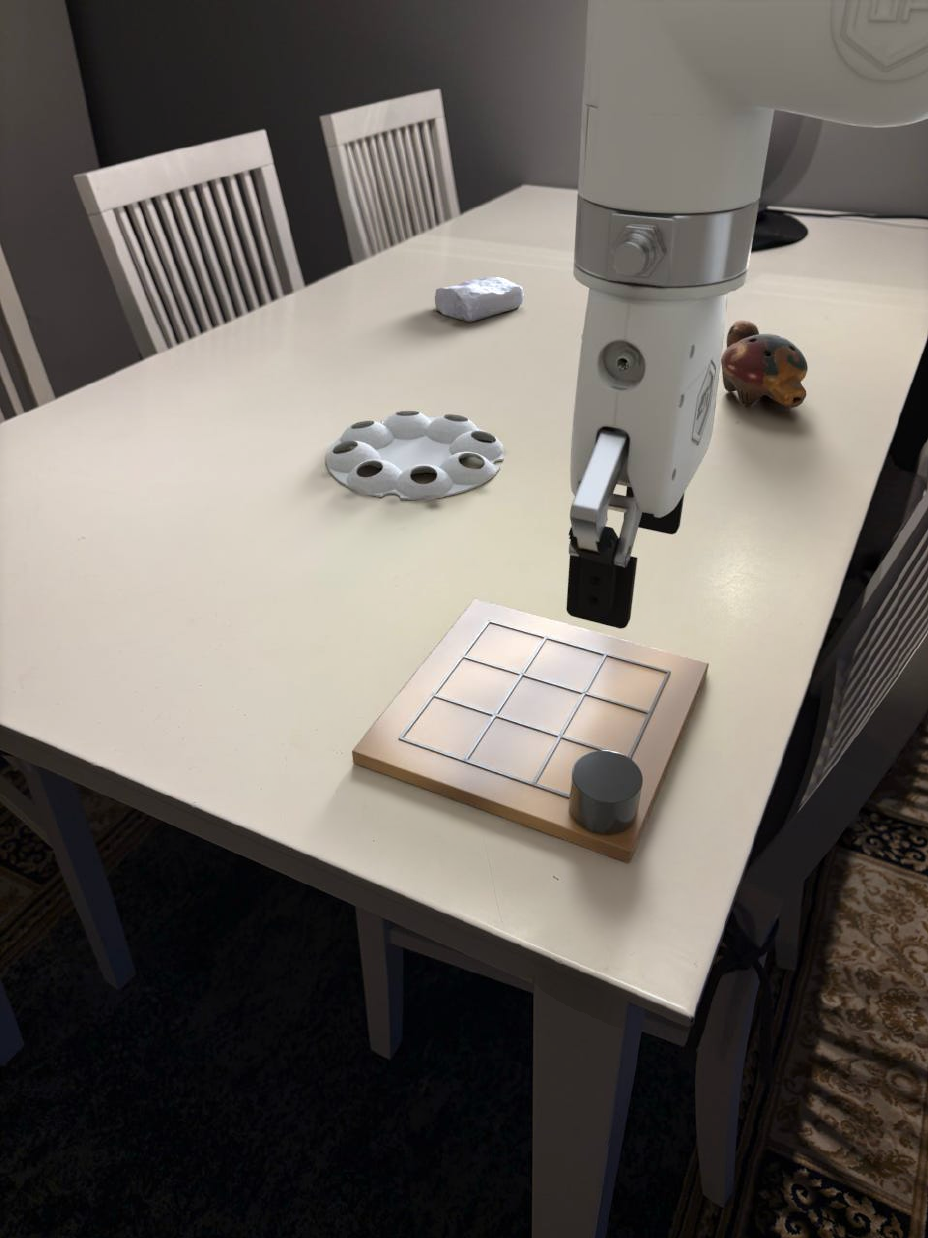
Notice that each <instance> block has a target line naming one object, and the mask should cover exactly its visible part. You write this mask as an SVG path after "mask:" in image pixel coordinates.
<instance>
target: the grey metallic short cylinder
mask: <svg viewBox="0 0 928 1238" xmlns="http://www.w3.org/2000/svg"><path fill="white" fill-rule="evenodd" d="M642 783H643V777H642V773H641V771H640V769H639V767H638V766H637V764H636V763H635V762H634V761H632V760H631V759H630V758H628V757H627V756H625V755H623V754H620V753H617V752H613V751H606V750H600V751H593V752H590V753H587V754H585V755H583V756H581V757H580V758H579V759H578V760H577V761H576V762H575V764H574V766H573V768H572V774H571V784H570V795H569V810H570V813H571V815H572V817H573V818H574V820H575V821H576V822H577V823H578V824H579V825H580V826H582V827H583V828H585V829H587V830H589V831H591V832H595V833H599V834H615V833H619V832H622V831H624V830H626V829H627V828H629V827H630V826H631V825H632V824H633V823H634V822H635V820H636V817H637V814H638V808H639V802H640V796H641V790H642Z"/></svg>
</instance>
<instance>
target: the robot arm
mask: <svg viewBox="0 0 928 1238" xmlns="http://www.w3.org/2000/svg"><path fill="white" fill-rule="evenodd" d="M586 12H587V13H586V31H585V50H584V65H583V66H584V68H583V83H582V84H583V86H582V90H583V91H582V105H581V107H582V109H581V125H580V126H581V127H580V147H579V166H578V168H579V170H578V187H577V197H576V215H575V216H576V218H575V232H574V233H575V234H574V237H575V238H574V252H573V265H572V266H573V269H572V274H573V277H574V279H575V280H576V281H577V282H578V283H580V285H582V286H585V287H586V288H587V289H588V294H587V295H588V296H587V302H586V308H585V316H584V322H583V330H582V334H581V344H580V352H579V361H578V366H577V367H578V369H577V376H576V377H577V378H576V387H575V397H574V406H573V415H572V416H573V418H572V428H571V429H572V430H571V442H570V443H571V444H570V465H569V466H570V469H569V471H570V490H571V492H572V494H573V496H574V498H573V500H572V503H571V505H570V510H569V519H570V520H569V521H570V524H571V527H570V528H569V531H568V536H569V537H568V539H569V544H568V555H569V560H568V561H569V562H568V577H567V591H566V592H567V593H566V609H565V610H566V613H567V614H568V615H569V616H570V617H573V618H576V619H581V620H585V621H588V622H592V623H597V624H599V625H605V626H608V627H612V628H616V629H621V630H623V629H626V627H627V626H628V624H629V623H630V621H631V616H632V608H633V599H634V590H635V582H636V575H637V567H638V565H637V564H638V557H637V556H632V552H633V549H634V545H635V540H636V538H637V537H636V536H637V533H638V529H644V530H648V531H654V532H657V533H663V534H667V535H675V534H677V532H678V530H679V529H680V527H681V520H682V513H683V506H684V501H685V500H684V499H685V493H686V490H687V489H688V487H689V485H690V484H691V482H692V480H693V478H694V476H695V475H696V473H697V472H698V469H699V467H700V466H701V463H702V461H703V460H704V458H705V456H706V454H707V451H708V450H709V447H710V444H711V441H712V437H713V431H714V424H715V415H716V408H717V397H718V388H719V380H720V373H721V366H722V365H721V358H722V355H723V347H724V339H725V330H726V320H727V306H728V294H729V293H731V292H735V291H737V290H739V289H740V288H741V287H743V286H744V285H745V283H746V282H747V276H748V270H749V267H750V266H749V265H750V259H751V253H752V248H753V247H752V246H753V242H754V241H753V240H754V235H755V229H756V222H757V217H758V211H759V205H760V198H761V192H762V187H763V182H764V181H763V180H764V174H765V167H766V163H767V156H768V150H769V144H770V138H771V133H772V127H773V126H772V125H773V122H774V121H773V120H774V114H775V111H779V112H780V111H781V112H787V113H791V114H795V115H799V116H805V117H809V118H814V119H817V120H818V119H819V120H823V121H829V122H833V123H838V124H843V125H849V126H855V127H863V128H864V127H865V128H893V127H902V126H908V125H912V124H915V123H919V122H922V121H925V120H927V119H928V0H587V11H586ZM617 485H619V486H622V487H626V492H625V495H622V494H619V493H614V492H615V490H616V486H617ZM609 510H610V511H616V512H618V513H619V512H620V513H623V520H622V521H623V522H622V524H621V528H620V532H619V536H618V534H617V533H616V531H615V529H614V528H613V527H610V526H607V523H608V520H609V519H608V512H609Z"/></svg>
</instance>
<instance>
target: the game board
mask: <svg viewBox="0 0 928 1238" xmlns="http://www.w3.org/2000/svg"><path fill="white" fill-rule="evenodd" d="M709 665H710V663H709V662H706V661H702V660H699V659H695V658H691V657H688V656H684V655H680V654H677V653H674V652H670V651H667V650H663V649H660V648H655V647H652V646H647V645H645V644H641V643H637V642H633V641H630V640H627V639H623V638H620V637H616V636H612V635H609V634H605V633H602V632H598V631H594V630H590V629H587V628H583V627H580V626H576V625H572V624H570V623H565V622H561V621H557V620H554V619H551V618H547V617H544V616H540V615H536V614H532V613H529V612H525V611H522V610H518V609H516V608H515V609H514V608H511V607H507V606H503V605H500V604H497V603H493V602H489V601H485V600H482V599H479V598H473V600H472V601H471V602H470V603H469V605H468V606H467V607H466V608H465V609H464V611H463V612H462V613H461V614H460V616H459V617H458V618H457V619H456V621H455V622H454V624H453V625H452V626H450V628H449V629H448V631H447V632H446V633H445V635H444V636H443V637H442V638H441V639H440V641H439V642H438V643H437V644H436V646H435V647H434V648H433V649H432V651H431V652H430V653H429V655H428V656H427V657H426V658H425V659H424V660H423V662H422V663H421V664H420V666H419V667H418V668H417V669H416V671H415V672H414V673H413V674H412V675H411V677H410V678H409V679H408V681H407V682H406V683H405V684H404V685H403V687H402V688H401V689H400V691H399V692H398V693H397V694H396V695H395V697H394V698H393V699H392V701H391V702H390V703H389V704H388V706H386V708H385V709H384V711H382V712H381V714H380V716H378V718H377V719H376V720H375V722H373V724H372V725H371V726H370V728H369V729H368V730H367V732H366V733H365V734H364V735H363V737H362V738H361V739H360V740H359V742H358V743H357V744H356V745H355V746H354V748H353V749H352V750H351V755H352V756H351V757H352V763H353V764H356V765H359V766H361V767H364V768H366V769H369V770H372V771H374V772H377V773H380V774H383V775H386V776H388V777H391V778H394V779H397V780H399V781H402V782H405V783H408V784H410V785H413V786H416V787H419V788H421V789H424V790H427V791H430V792H432V793H435V794H437V795H440V796H442V797H446V798H449V799H451V800H454V801H457V802H460V803H463V804H465V805H468V806H470V807H473V808H476V809H479V810H482V811H484V812H488V813H490V814H493V815H494V816H495V815H496V816H499V817H501V818H503V819H506V820H509V821H512V822H514V823H516V824H520V825H523V826H526V827H528V828H531V829H534V830H537V831H539V832H541V833H544V834H547V835H549V836H553V837H556V838H558V839H561V840H564V841H567V842H569V843H572V844H575V845H577V846H580V847H583V848H585V849H588V850H591V851H594V852H596V853H599V854H602V855H605V856H608V857H611V858H614V859H617V860H618V861H622V862H624V863H626V864H629V863H630V862H631V861H632V857H633V855H634V852H635V851H636V848H637V846H638V844H639V840H640V839H641V836H642V833H643V831H644V828H645V826H646V825H647V822H648V819H649V816H650V814H651V812H652V810H653V807H654V804H655V801H656V799H657V797H658V794H659V792H660V790H661V787H662V785H663V783H664V780H665V777H666V775H667V773H668V770H669V768H670V765H671V764H672V763H671V762H672V760H673V758H674V755H675V753H676V750H677V749H678V746H679V743H680V741H681V739H682V736H683V734H684V731H685V729H686V726H687V724H688V721H689V720H690V719H689V718H690V716H691V714H692V711H693V709H694V706H695V704H696V702H697V699H698V697H699V695H700V692H701V689H702V687H703V685H704V682H705V680H706V677H707V675H708V671H709ZM600 750H606V751H613V752H617V753H620V754H623V755H625V756H627V757H628V758H630V759H631V760H632V761H634V762H635V763H636V764H637V766H638V767H639V769H640V771H641V773H642V777H643V783H642V790H641V796H640V802H639V808H638V814H637V817H636V820H635V822H634V823H633V824H632V825H631V826H630V827H629V828H627V829H626V830H624V831H622V832H619V833H615V834H599V833H595V832H591V831H589V830H587V829H585V828H583V827H582V826H580V825H579V824H578V823H577V822H576V821H575V820H574V818H573V817H572V815H571V813H570V810H569V795H570V784H571V774H572V768H573V766H574V764H575V762H576V761H577V760H578V759H579V758H580V757H581V756H583V755H585V754H587V753H590V752H593V751H600Z"/></svg>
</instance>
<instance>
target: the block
mask: <svg viewBox="0 0 928 1238" xmlns="http://www.w3.org/2000/svg"><path fill="white" fill-rule="evenodd" d="M523 289H524V288H523V287H522V286H521V285H517V283H514V282H512V281H510V280H509V279H507V278H506V279H505V278H503V277H500V276H496V277H495V276H493V277H490V276H489V277H478V278H474V279H470V280H467V281H463V282H461V283H460V284H457V285H449V286H446V287H440V288H436V289H435V293H434V305H435V310H437V311H438V312H440V313H441V314H442V315H443V316H447V317H451V318H455V319H457V320H460V321H463V322H467V323H473V322H476V321H480V320H483V319H486V318H490V317H492V316H495V315H500V314H502V313H504V312H509V311H513V310H516V309H517V308H520V306H521V305H522V304H523V301H524V299H525V294H524V290H523Z"/></svg>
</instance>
